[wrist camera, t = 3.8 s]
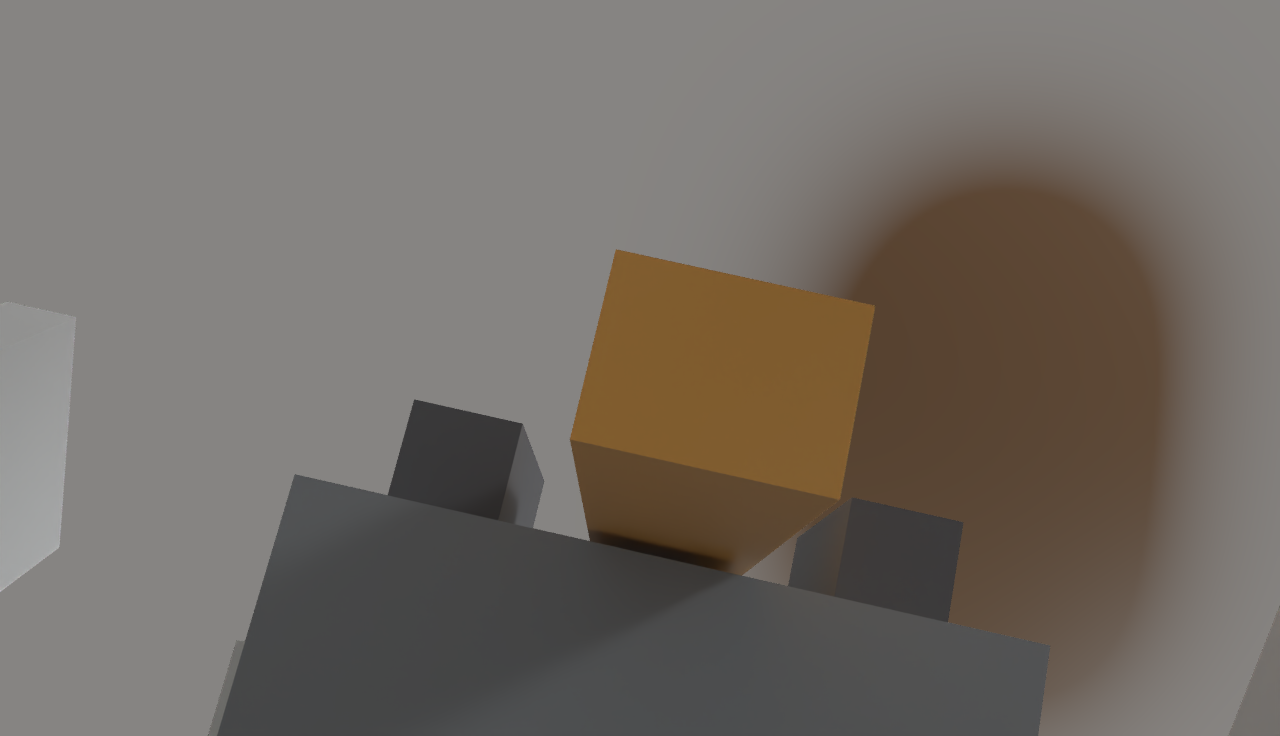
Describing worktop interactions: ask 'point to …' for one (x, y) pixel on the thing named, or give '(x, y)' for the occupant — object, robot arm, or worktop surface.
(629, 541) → the handle
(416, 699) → the breaker panel
